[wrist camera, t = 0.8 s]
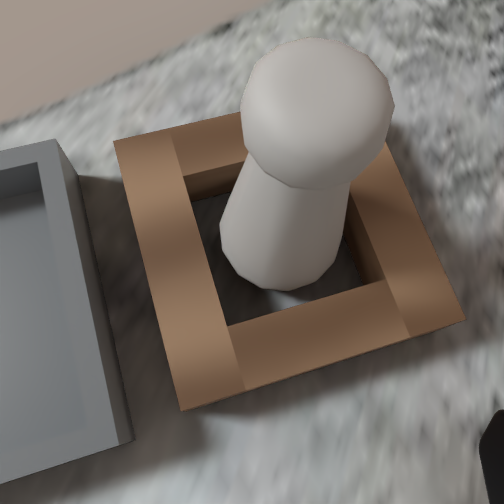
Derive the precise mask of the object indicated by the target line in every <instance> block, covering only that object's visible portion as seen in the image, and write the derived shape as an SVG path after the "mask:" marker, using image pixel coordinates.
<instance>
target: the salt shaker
mask: <svg viewBox="0 0 504 504" xmlns="http://www.w3.org/2000/svg"><path fill="white" fill-rule="evenodd" d="M394 107H395V105H394V101H393V98H392V94H391V91H390V87H389V84H388V80H387V78H386V77H385V75H384V74H383V73H382V72H381V71H380V70H379V68H378V67H377V66H376V65H375V64H374V62H373V61H372V60H371V59H370V58H369V57H368V55H366V54H364V53H362V52H360V51H358V50H356V49H354V48H352V47H350V46H348V45H346V44H344V43H342V42H340V41H336V40H328V39H320V38H312V37H306V38H303V39H299V40H295V41H292V42H288V43H284V44H281V45H278V46H276V47H275V48H274V49H273V50H271V51H270V52H269V53H267V54H266V55H265V56H264V57H262V58H261V59H260V60H259V61H257V62H256V63H255V65H254V68H253V71H252V73H251V76H250V78H249V81H248V83H247V86H246V88H245V91H244V94H243V97H242V100H241V122H242V130H243V138H244V145H245V147H246V148H247V150H248V151H249V153H248V155H247V158H246V160H245V162H244V165H243V167H242V169H241V172H240V174H239V176H238V179H237V181H236V184H235V186H234V188H233V191H232V193H231V195H230V198H229V200H228V203H227V205H226V208H225V211H224V213H223V216H222V218H221V221H220V224H219V225H220V234H221V242H222V250H223V252H224V254H225V256H226V257H227V259H228V260H229V262H230V263H231V265H232V266H233V268H234V269H235V271H236V272H237V274H238V275H240V276H241V277H243V278H245V279H246V280H248V281H250V282H251V283H253V284H255V285H256V286H258V287H260V288H261V289H271V290H281V291H290V290H293V289H296V288H299V287H302V286H305V285H308V284H311V283H314V282H316V281H317V280H318V279H319V278H320V277H321V276H322V275H323V274H324V272H325V271H326V270H327V269H328V268H329V267H330V266H331V265H332V264H333V263H334V261H335V258H336V255H337V252H338V248H339V245H340V242H341V239H342V234H343V228H344V221H345V215H346V208H347V202H348V195H349V189H350V183H351V181H353V180H355V179H356V178H357V176H358V175H359V174H360V173H361V172H362V171H363V170H364V169H365V168H366V167H367V166H368V165H369V164H370V163H371V162H372V161H373V160H374V159H375V158H376V157H377V155H378V154H379V153H380V151H381V150H382V149H383V146H384V143H385V139H386V136H387V132H388V129H389V125H390V122H391V118H392V114H393V111H394Z"/></svg>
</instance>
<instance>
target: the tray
mask: <svg viewBox="0 0 504 504" xmlns="http://www.w3.org/2000/svg"><path fill="white" fill-rule="evenodd" d="M134 440H136V439H135V435H134V430H133V426H132V421H131V417H130V412H129V407H128V403H127V398H126V394H125V389H124V384H123V380H122V375H121V371H120V366H119V362H118V357H117V352H116V348H115V343H114V339H113V334H112V329H111V325H110V320H109V316H108V311H107V307H106V302H105V297H104V293H103V288H102V284H101V279H100V274H99V270H98V265H97V261H96V256H95V251H94V247H93V242H92V238H91V233H90V229H89V224H88V219H87V215H86V210H85V206H84V201H83V196H82V192H81V187H80V183H79V178H78V174H77V172H76V171H75V169H74V168H73V166H72V164H71V163H70V161H69V160H68V158H67V156H66V155H65V153H64V151H63V150H62V148H61V147H60V145H59V143H58V142H57V140H56V139H51V140H47V141H43V142H38V143H34V144H29V145H25V146H20V147H16V148H12V149H7V150H3V151H0V484H2V483H5V482H8V481H11V480H14V479H18V478H21V477H24V476H27V475H30V474H33V473H36V472H39V471H42V470H45V469H48V468H51V467H54V466H57V465H60V464H63V463H66V462H70V461H73V460H76V459H79V458H82V457H85V456H88V455H91V454H94V453H97V452H100V451H103V450H106V449H109V448H112V447H115V446H118V445H122V444H125V443H128V442H131V441H134Z"/></svg>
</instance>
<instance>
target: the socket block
mask: <svg viewBox="0 0 504 504" xmlns="http://www.w3.org/2000/svg"><path fill="white" fill-rule="evenodd" d="M113 143H114V147H115V151H116V155H117V159H118V163H119V167H120V171H121V175H122V179H123V183H124V187H125V191H126V195H127V199H128V203H129V207H130V211H131V215H132V219H133V223H134V227H135V231H136V235H137V239H138V243H139V247H140V251H141V255H142V259H143V263H144V267H145V271H146V275H147V279H148V283H149V287H150V291H151V295H152V299H153V303H154V307H155V311H156V315H157V319H158V323H159V327H160V331H161V335H162V339H163V343H164V347H165V351H166V355H167V359H168V363H169V367H170V371H171V375H172V379H173V383H174V387H175V391H176V395H177V399H178V403H179V407H180V411H189V410H192V409H196V408H199V407H202V406H205V405H208V404H211V403H214V402H217V401H220V400H223V399H227V398H230V397H233V396H236V395H239V394H242V393H245V392H248V391H251V390H254V389H257V388H261V387H264V386H267V385H270V384H273V383H276V382H279V381H282V380H285V379H288V378H292V377H295V376H298V375H301V374H304V373H307V372H310V371H313V370H316V369H319V368H322V367H326V366H329V365H332V364H335V363H338V362H341V361H344V360H347V359H350V358H353V357H357V356H360V355H363V354H366V353H369V352H372V351H375V350H378V349H381V348H384V347H388V346H391V345H394V344H397V343H400V342H403V341H406V340H409V339H412V338H415V337H418V336H422V335H425V334H428V333H431V332H434V331H437V330H440V329H442V328H445V327H448V326H450V325H453V324H455V323H458V322H461V321H463V320H466V317H465V315H464V313H463V311H462V309H461V306H460V304H459V302H458V300H457V298H456V295H455V293H454V291H453V289H452V287H451V284H450V282H449V280H448V278H447V276H446V273H445V271H444V269H443V267H442V265H441V262H440V260H439V258H438V256H437V254H436V251H435V249H434V247H433V245H432V243H431V240H430V238H429V236H428V234H427V232H426V229H425V227H424V225H423V223H422V221H421V218H420V216H419V214H418V212H417V210H416V207H415V205H414V203H413V201H412V199H411V196H410V194H409V192H408V190H407V188H406V185H405V183H404V181H403V179H402V177H401V174H400V172H399V170H398V168H397V166H396V163H395V161H394V159H393V157H392V155H391V152H390V150H389V148H388V146H387V144H386V141H385V143H384V146H383V149H382V150H381V151H380V153H379V154H378V155H377V157H376V158H375V159H374V160H373V161H372V162H371V163H370V164H369V165H368V166H367V167H366V168H365V169H364V170H363V171H362V172H361V173H360V174H359V175H358V176H357V178H356V179H355V180H353V181H351V183H350V189H349V195H348V202H347V208H346V215H345V221H344V228H343V235H344V237H345V240H346V242H347V245H348V247H349V250H350V252H351V255H352V257H353V260H354V263H355V265H356V268H357V270H358V273H359V275H360V278H361V280H362V283H363V285H364V286H361V287H358V288H354V289H351V290H348V291H344V292H341V293H338V294H334V295H331V296H327V297H324V298H321V299H317V300H314V301H311V302H307V303H304V304H301V305H297V306H294V307H291V308H287V309H284V310H281V311H277V312H274V313H271V314H267V315H264V316H261V317H257V318H254V319H251V320H247V321H244V322H241V323H237V324H234V325H231V326H227V325H226V321H225V318H224V315H223V311H222V308H221V304H220V301H219V298H218V294H217V291H216V288H215V284H214V281H213V277H212V274H211V271H210V267H209V264H208V260H207V257H206V254H205V250H204V247H203V243H202V240H201V237H200V233H199V230H198V226H197V223H196V220H195V216H194V213H193V209H192V206H191V203H190V202H193V201H197V200H201V199H204V198H208V197H212V196H216V195H220V194H224V193H228V192H232V191H233V188H234V186H235V184H236V181H237V179H238V176H239V174H240V172H241V169H242V167H243V165H244V162H245V160H246V158H247V155H248V153H249V151H248V150H247V148H246V147H245V145H244V138H243V130H242V122H241V112H237V113H233V114H228V115H224V116H220V117H215V118H211V119H207V120H202V121H198V122H194V123H189V124H185V125H181V126H176V127H172V128H168V129H163V130H159V131H155V132H150V133H146V134H142V135H137V136H133V137H129V138H124V139H120V140H116V141H113Z"/></svg>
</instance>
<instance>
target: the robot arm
mask: <svg viewBox="0 0 504 504" xmlns="http://www.w3.org/2000/svg"><path fill="white" fill-rule="evenodd" d="M479 455H480V460H481V465H482V469H483V474H484V479H485V484H486V489H487V494H488V499H489V503H490V504H504V410H499V411H497V412H496V413H495V414H494V416H493V418H492V419H491V421H490V423H489V425H488V426H487V428H486V430H485V432H484V434H483V435H482V437H481V439H480V443H479Z"/></svg>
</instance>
